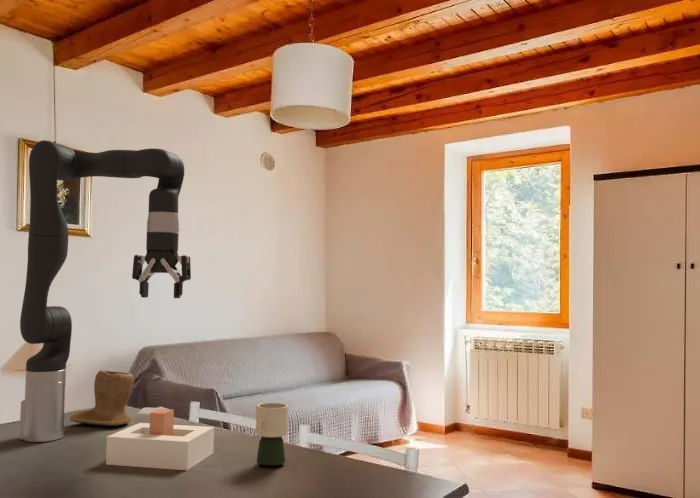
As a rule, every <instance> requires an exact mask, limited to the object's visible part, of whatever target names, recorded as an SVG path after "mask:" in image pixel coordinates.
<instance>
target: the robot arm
mask: <svg viewBox="0 0 700 498" xmlns="http://www.w3.org/2000/svg"><path fill="white" fill-rule="evenodd" d="M28 176H29V190H30V195H29V196H30V199H29V200H30V202H29V203H30V204H29V205H30V207H29V227H28V237H27V238H28V241H27V263H26V265H27V267H26V277H25V288H24V293H23V299H22V307H21V312H20V319H19V322H20V323H19V330H20V335H21V336H22V339H23V340H24V341H25V342H26V343H27V344H31V345H34V344H35V345H36V344H42V347H41V349H40V350H39V351H38V352H37V353H35V354H34V355H32V356H30V357H29V358H28V359H27V360H26V363H25V385H24V386H25V388H24V399H23V400H21V401H20V413H19V415H20V416H19V418H20V419H19V440H22V441H24V442H27V443H28V442H30V443H43V442H50V441H56V440H60V439H62V438H63V437H64V435H65V434H64V430H65V407H66V402H65V401H66V375H67V373H66V372H67V362H68V359H69V357H70V352H71V341H72V330H73V329H72V327H73V325H72V324H73V321H72V316H71V314H70V312H69V310H68V309H67V308H66V307H64V306H58V305H55V306H54V305H53V306H48V296H49V291H50V287H51V285H52V283H53V281H54V280H55V278H56V277H57V275H58V273H59V272H60V270H61V269H62V267H63V265H64V264H65V262H66V259H67V257H68V251H69V227H68V224H67V221H66V218H65V215H64V213H63V210H62V208H61V205H60V203H59V199H58V181H67V180H75V179H81V178H91V177H93V178H94V177H106V178H117V179H118V178H119V179H140V178H142V177H151V178H156V179H158V182H157V186H156V188H153V189H152V190H150V192H149V195H148V214H147V221H146V241H145V244H146V245H145V246H146V247H145V249H146V254H145V255H141V254H140V255H139V254H134V255H133V262H132V273H131V276H132V279H133V280H136V281H138V282H139V291H138V293H139V296H140V297H141V298H144V299H145V298H148V297H149V282H148V281H150V279H151V277H153V275H154V274H158V273H159V274H169V276H171V277H172V279H173V280H174V283H173V298H174V299H180V298H181V297H182V296H183V284H184V282H186V281H190V280H191V279H192V278H191V277H192V274H191V273H192V272H191V269H192V268H191V257H190V255H188V254H187V255H185V254H183V255H179V254H178V253H179V252H178V251H179V233H180V226H179V225H180V222H179V196H180V193H181V189H182V186H183V182H184V177H185V165H184V161H183V159H182V158H181V157H180V156H179V155H177V154H175V153H174V152H173V153H172V152H171V151H168V150H166V149H162V148H144V149H137V150H135V149H134V150H133V149H109V150H105V151H100V152H99V151H98V152H87V151H81V150H77V149H74V148H71V147H69V146H66V145H63V144H61V143H57V142H55V141H54V142H53V141H50V140H39V141H38V142H36V143H35V144H34V145H33V146H32V148H31V150H30V153H29V157H28ZM145 263H146V264H147V265H146V266H145V268H144V269H143V266H144V264H145ZM178 263H179V264H180V265H181V272H180V269H179V268H178V267H177V264H178Z"/></svg>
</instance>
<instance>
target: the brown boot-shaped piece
mask: <svg viewBox="0 0 700 498" xmlns="http://www.w3.org/2000/svg"><path fill="white" fill-rule="evenodd" d="M134 383H135V378H134V375H133V374H132V373H130V372H124V371H123V372H122V371H115V370H113V371H112V370H106V369H100V370H98V372H97V373H96V375H95V378H94V383H93V384H94V385H93V389H94V407H93V408H92V409H87V410H86V409H85V410H80V411H77V412H75V413H73V414H71V415H70V416H69V419H68V420H69V421H70V422H74V423H77V424H78V423H79V424H86V425H91V426H92V425H93V426H102V427H103V426H106V427H107V426H108V427H110V426H120V425H121V426H122V425H126V424H128V423H130V422H131V421H132V416H130V415H128V414H127V413H126V410H125V409H126V405H127V403H128V400H129V399H130V396H131V393H132V391H133V387H134Z"/></svg>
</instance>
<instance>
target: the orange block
mask: <svg viewBox="0 0 700 498" xmlns="http://www.w3.org/2000/svg"><path fill="white" fill-rule="evenodd" d="M174 412H175V409H169V408H167V409H158V410H156V411H153V412H151V413H150V430H149V434H150V435H166V436H173V425H174V415H175V414H174Z"/></svg>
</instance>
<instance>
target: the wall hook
mask: <svg viewBox="0 0 700 498" xmlns="http://www.w3.org/2000/svg"><path fill="white" fill-rule="evenodd" d="M158 409H168V408H167V407H163V406H157V407H146V406H145V407H142V408H141V409H140V410H139V411H138V412H137V413H136V414H135V416H134V425H136V424H138V423H150V413H151V412H153V411H156V410H158Z"/></svg>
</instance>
